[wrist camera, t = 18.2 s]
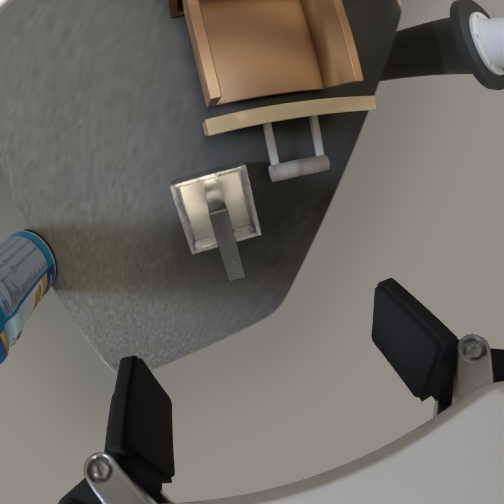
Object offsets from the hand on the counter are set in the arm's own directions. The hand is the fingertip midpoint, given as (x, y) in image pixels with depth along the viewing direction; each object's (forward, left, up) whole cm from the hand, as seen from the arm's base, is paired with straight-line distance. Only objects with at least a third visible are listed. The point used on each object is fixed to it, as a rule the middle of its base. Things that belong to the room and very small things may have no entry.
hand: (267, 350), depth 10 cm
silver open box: (0, 0, -20) cm, 20 cm away
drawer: (-7, -13, -19) cm, 24 cm away
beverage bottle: (+24, -1, -20) cm, 31 cm away
